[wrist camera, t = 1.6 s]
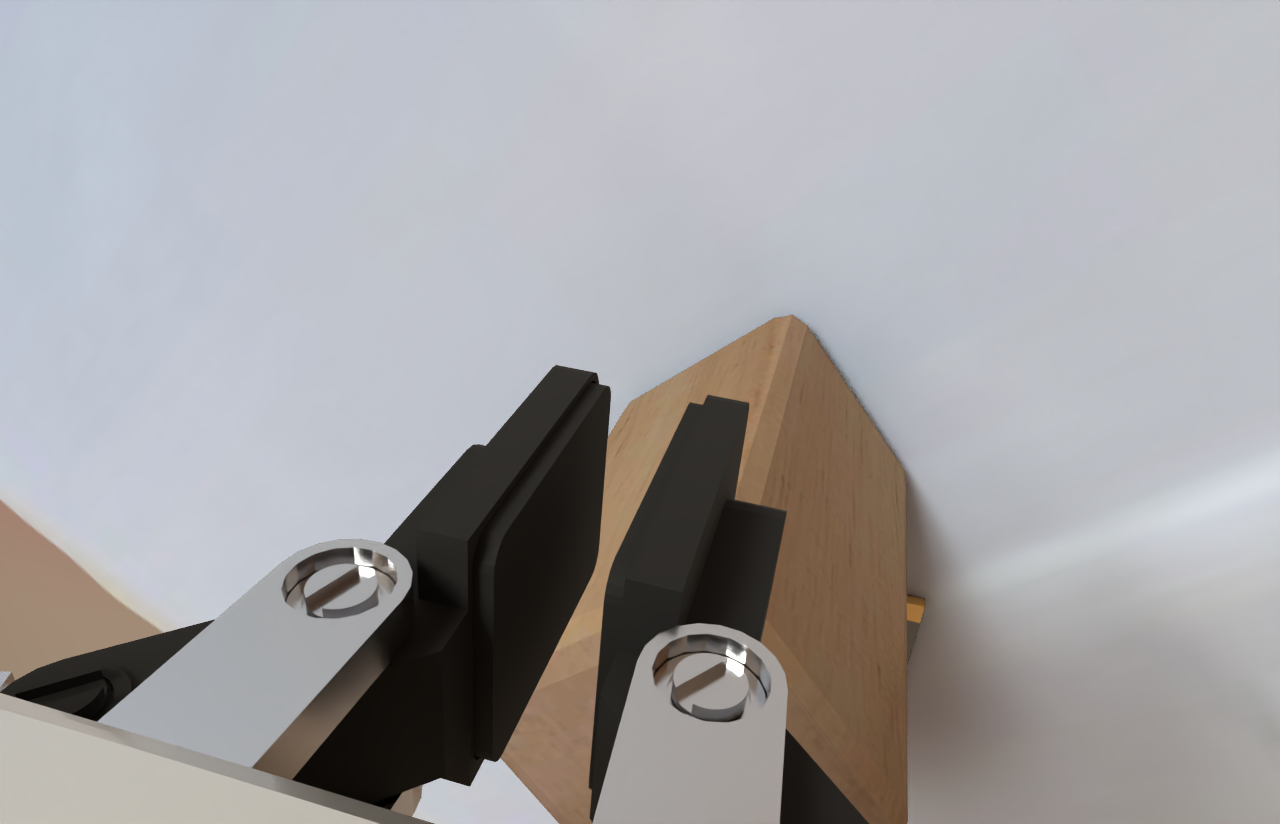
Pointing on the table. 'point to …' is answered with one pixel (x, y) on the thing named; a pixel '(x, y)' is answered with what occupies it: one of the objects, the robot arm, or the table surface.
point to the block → (803, 583)
